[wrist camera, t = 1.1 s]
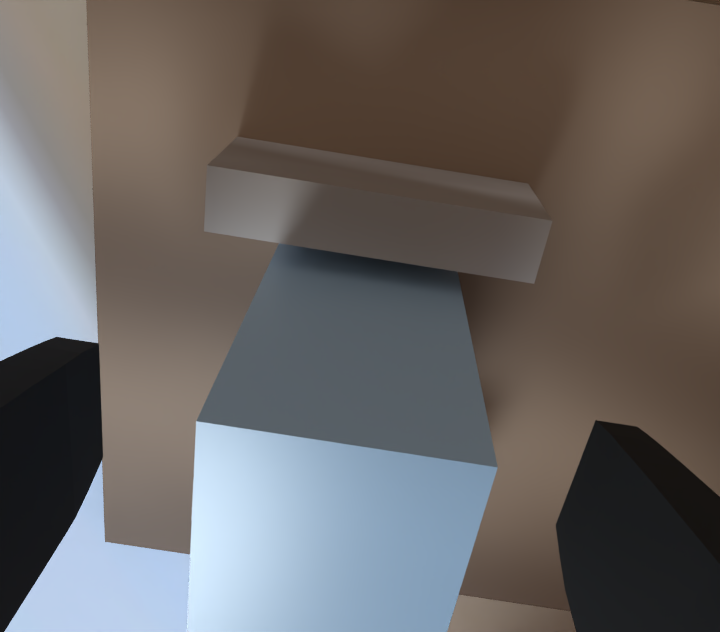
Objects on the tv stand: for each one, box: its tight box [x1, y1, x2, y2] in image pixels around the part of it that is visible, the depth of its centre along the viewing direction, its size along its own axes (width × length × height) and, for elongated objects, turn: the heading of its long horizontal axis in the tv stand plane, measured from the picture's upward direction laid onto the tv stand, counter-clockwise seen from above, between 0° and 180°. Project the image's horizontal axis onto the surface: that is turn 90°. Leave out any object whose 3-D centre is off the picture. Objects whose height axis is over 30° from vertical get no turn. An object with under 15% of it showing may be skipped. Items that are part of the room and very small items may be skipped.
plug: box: [187, 243, 498, 632], centre depth 10 cm, size 4×3×6 cm
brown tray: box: [86, 0, 720, 611], centre depth 12 cm, size 13×22×3 cm, turn 82°
